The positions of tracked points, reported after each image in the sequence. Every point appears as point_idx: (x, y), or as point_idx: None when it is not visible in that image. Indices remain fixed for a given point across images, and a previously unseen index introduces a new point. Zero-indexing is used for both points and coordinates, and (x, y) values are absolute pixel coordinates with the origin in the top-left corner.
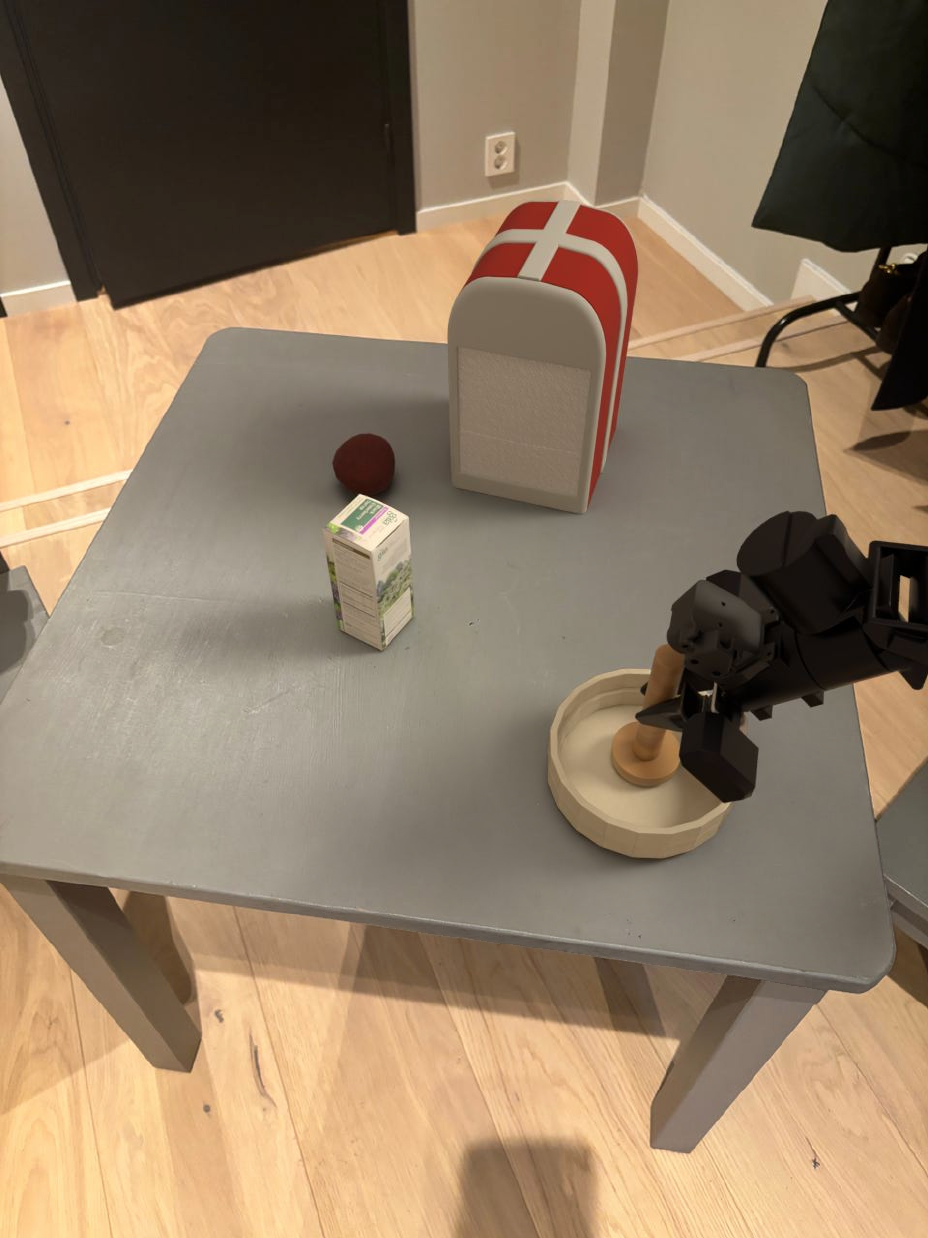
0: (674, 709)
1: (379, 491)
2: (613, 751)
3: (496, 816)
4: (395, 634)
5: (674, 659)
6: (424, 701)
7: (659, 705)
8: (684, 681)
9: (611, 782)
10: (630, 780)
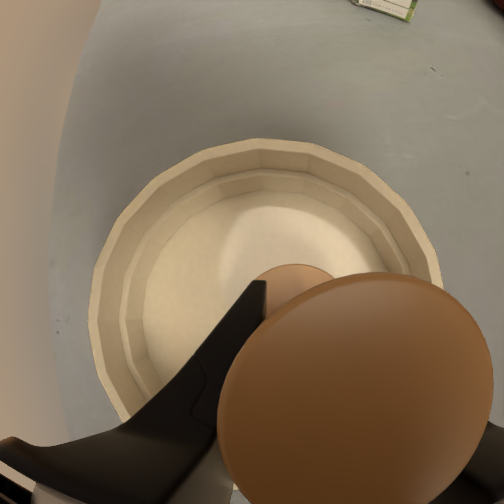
0: (153, 412)
1: (501, 5)
2: (277, 268)
3: (164, 139)
4: (375, 6)
5: (336, 462)
6: (307, 38)
7: (234, 348)
8: None
9: (238, 277)
10: None
